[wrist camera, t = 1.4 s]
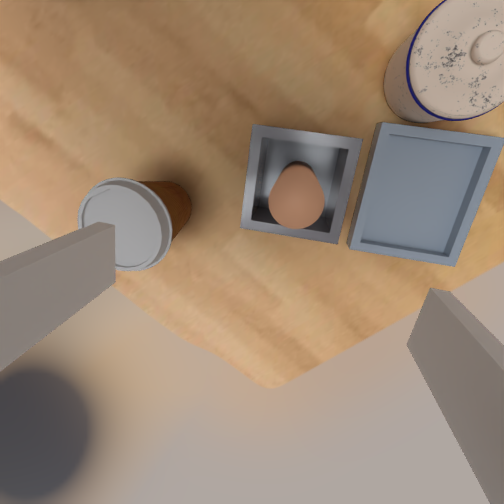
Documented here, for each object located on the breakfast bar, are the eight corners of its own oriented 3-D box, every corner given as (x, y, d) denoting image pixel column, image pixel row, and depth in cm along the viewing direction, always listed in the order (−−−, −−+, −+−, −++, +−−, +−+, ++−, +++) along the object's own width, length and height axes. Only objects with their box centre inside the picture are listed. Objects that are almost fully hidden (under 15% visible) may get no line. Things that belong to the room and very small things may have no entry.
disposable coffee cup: (205, 173, 38) (167, 186, 27) (201, 244, 42) (166, 282, 31) (133, 164, 39) (67, 173, 28) (135, 234, 43) (77, 267, 32)
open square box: (262, 127, 36) (252, 123, 28) (349, 139, 35) (363, 139, 27) (251, 211, 39) (240, 227, 32) (330, 224, 38) (337, 244, 31)
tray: (376, 123, 34) (382, 122, 31) (491, 138, 33) (505, 138, 30) (346, 242, 39) (349, 249, 36) (445, 259, 38) (454, 266, 35)
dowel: (283, 158, 35) (272, 169, 22) (317, 163, 35) (330, 178, 21) (277, 192, 37) (264, 224, 23) (311, 198, 37) (318, 233, 23)
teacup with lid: (431, 142, 34) (494, 142, 23) (362, 96, 33) (393, 75, 22) (520, 27, 29) (650, -40, 18) (442, -27, 29) (529, -129, 18)
